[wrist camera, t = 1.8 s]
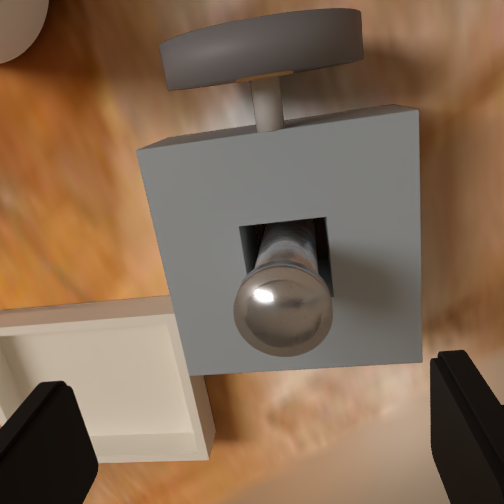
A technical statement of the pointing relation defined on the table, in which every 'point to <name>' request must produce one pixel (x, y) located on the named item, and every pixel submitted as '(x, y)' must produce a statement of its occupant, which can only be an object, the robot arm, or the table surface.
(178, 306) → the tensioner block
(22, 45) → the beverage can
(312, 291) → the lock pin
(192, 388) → the tray
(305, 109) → the table surface
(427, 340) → the table surface
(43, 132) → the table surface
